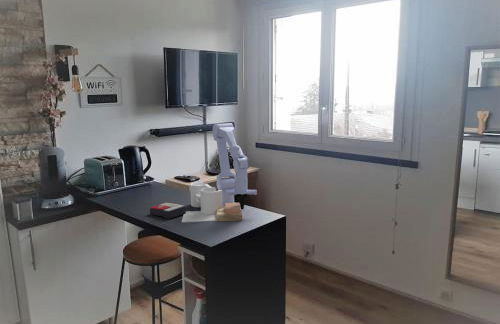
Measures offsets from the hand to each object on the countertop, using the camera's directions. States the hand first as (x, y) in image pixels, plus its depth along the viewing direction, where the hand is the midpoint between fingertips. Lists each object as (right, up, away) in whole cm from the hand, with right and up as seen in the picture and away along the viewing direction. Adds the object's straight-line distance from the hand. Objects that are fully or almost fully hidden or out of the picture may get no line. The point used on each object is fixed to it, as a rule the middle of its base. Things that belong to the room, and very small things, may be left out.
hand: (242, 208), depth 196 cm
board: (-6, -3, 0) cm, 7 cm away
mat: (-21, -4, -1) cm, 21 cm away
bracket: (-20, -2, +13) cm, 24 cm away
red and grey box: (-37, -3, +4) cm, 38 cm away
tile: (-5, -1, 0) cm, 5 cm away
